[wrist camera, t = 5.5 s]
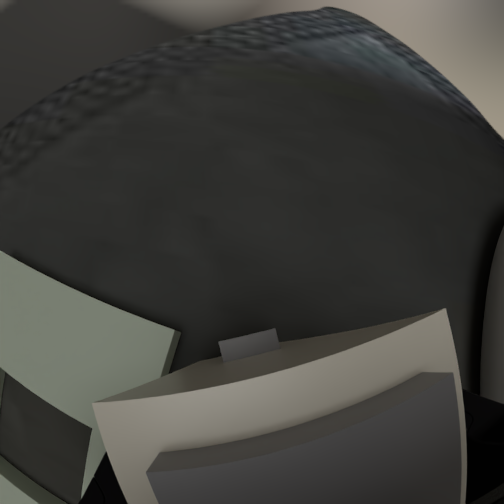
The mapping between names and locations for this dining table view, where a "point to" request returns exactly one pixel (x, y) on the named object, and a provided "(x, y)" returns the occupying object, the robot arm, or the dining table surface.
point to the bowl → (494, 330)
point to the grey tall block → (299, 422)
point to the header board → (71, 358)
